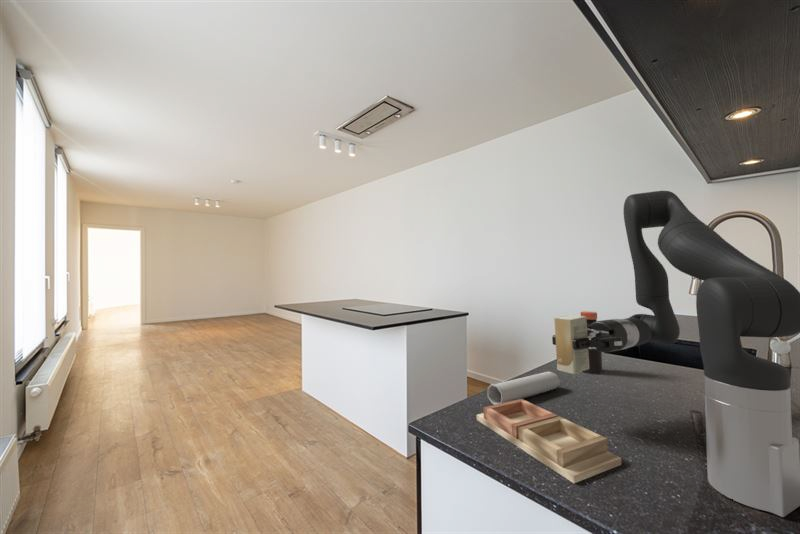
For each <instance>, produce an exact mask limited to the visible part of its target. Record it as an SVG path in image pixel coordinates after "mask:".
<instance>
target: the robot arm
mask: <svg viewBox="0 0 800 534" xmlns="http://www.w3.org/2000/svg"><path fill="white" fill-rule="evenodd" d="M623 220H624V227H625V231H626V237H627V242H628V246H629V251H630V257H631V260H632V261H631V262H632V266H633V272H634V286H635V287H634V288H635V301H636V304H637V305H639V306H640V307H643V308H646V309H649V310H651V312H652V313H653V314H647V313H646V314H645V313H637V314H633V315H631V316H630V317H628V318H611V319H604V320H597V321H596V322H593V323H592V324H591V325H590V326H589V327H588V329H587V338H579V339H573V341H572V342H573V349H575V350H579V349H585V348H588V349H596V350H598V351H600V352H602V353H612V352H617V351H622V350H627V349H629V348H633V347H638V346H642V345H645V344H646V343H648V342H653V343H656V344H662V345H673V344H674V343H676V342H677V341H678V339H679V338H680V334H681V332H680V325H679V322H678V319H677V317H676V314H675V312H674V309H673V306H672V304H671V300H670V292H669V291H670V289H669V277H668V274H667V271H666V269H665V267H664V265H663V264H662V263H661V262H660V260H659V259H658V257H656V256H655V255H654V253H653V252H652V251H651V249H650V248H649V247H648V245H647V244H646V241H645V239H644V236H643V229H651V228H662V229H661V231H660V233H659V235H658V239H657V246H658V249H659V251H660V253H661V254H662V255H663V257H664V258H665V259H666V260H667V262H669V265H671V266H672V267H674V268H675V269H676V270H678V271H679V272H681V273H683V274H685V275H688V276H690V277H693V278H695V279H698V280H701V281H702V282H701V283H700V285H699V286H698V288H697V290H696V291H697V292H696V297H695V299H696V300H695V305H696V307H695V308H696V318H697V319H696V320H697V325H698V326H697V327H698V334H699V349H700V355H701V359H702V364H703V374H704V375H703V377H704V379H703V380H704V406H705V408H704V409H705V410H704V411H705V413H704V414H705V436H706V437H705V439H706V470H707V481H708V483H709V484H710V486H711V487H712V488H713V489H715V491H716V492H718V493H720V494H721V495H723V496H725V497H727V498H728V499H731V500H732V499H733V501H735V502H737V503H739V504H742V505H744V506H747V507H749V508H753V509H756V510H761V511H765V512H768V513H772V514H774V515H776V516H779V517H781V518H785V517H787V515H789V514H790V513H792V512H794V511H795V510H796V509H797V508H799V507H800V442H799V439H798V438H796V437H793V430H792V429H793V428H792V426H793V425H792V404H791V401H792V400H791V379H790V378H791V377H790V372H789V370H788V369H787V368H786V367H785V366H784V365H782V364H780V363H778V362H775V361H772V360H768V359H765V358H762V357H759V356H756V355H753V354H751V353H749V352H747V351H746V350H745V349H744V348H743V344H742V340H741V338H743V337H746V338H783V337H784V338H785V337H786V338H787V337H791V336H794V335H796V334H799V333H800V291H799V290H798V289H797V287H795V286H794V285H793V283H791V282H790V281H788V280H787V279H785V277H782V276H780V275H779V274H777V273H776V272H774V271H773V270H771V269H768V268H767V267H766V266H764V265H762V264H760V263H758V262H756V261H755V260H754V259H751V258H750V257H748V256H747V255H746V254H744V253H742V252H741V251H740V250H738V248H736V247H735V246H734V245H732V244H730V243H729V242H728V241H726V240H725V239H724V238H723V237H722V236H721V235H720V234H719V233H717V232H716V231H715V230H713V228H711V227H710V226H709V225H707V223H704V222H703V221H702V220H701V219H699V218H698V217H697V216H696V215H695V214H694V213H693V212H691V211H690V210H689V209H688V207H687V206H686V205H685V203H684V202H682V200H681V199H680V197H678V195H677V194H675V193H674V192H672V191H669V190H655V191H647V192H641V193H634V194H630V195H628V196H627V197H626V198H625V199H624V204H623ZM551 337H552V338H551V339H552V345H554V346H556V338H555V334H554V335H552V336H551Z"/></svg>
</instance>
